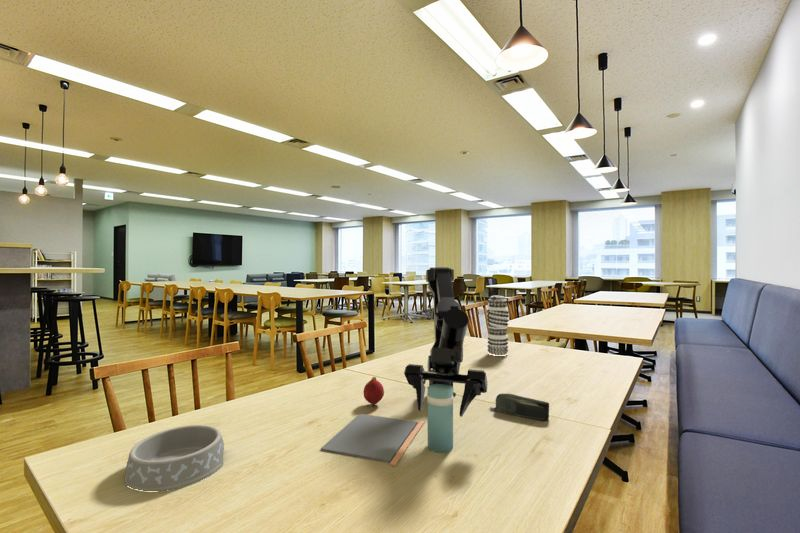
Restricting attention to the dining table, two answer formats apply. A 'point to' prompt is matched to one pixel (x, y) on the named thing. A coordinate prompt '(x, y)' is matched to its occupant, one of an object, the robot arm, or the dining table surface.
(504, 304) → the grey patterned cylinder
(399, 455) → the orange strip
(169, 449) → the dog bowl
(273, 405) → the dining table surface
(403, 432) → the mat
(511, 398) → the black stapler
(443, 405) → the teal cylinder
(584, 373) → the dining table surface
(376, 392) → the onion
